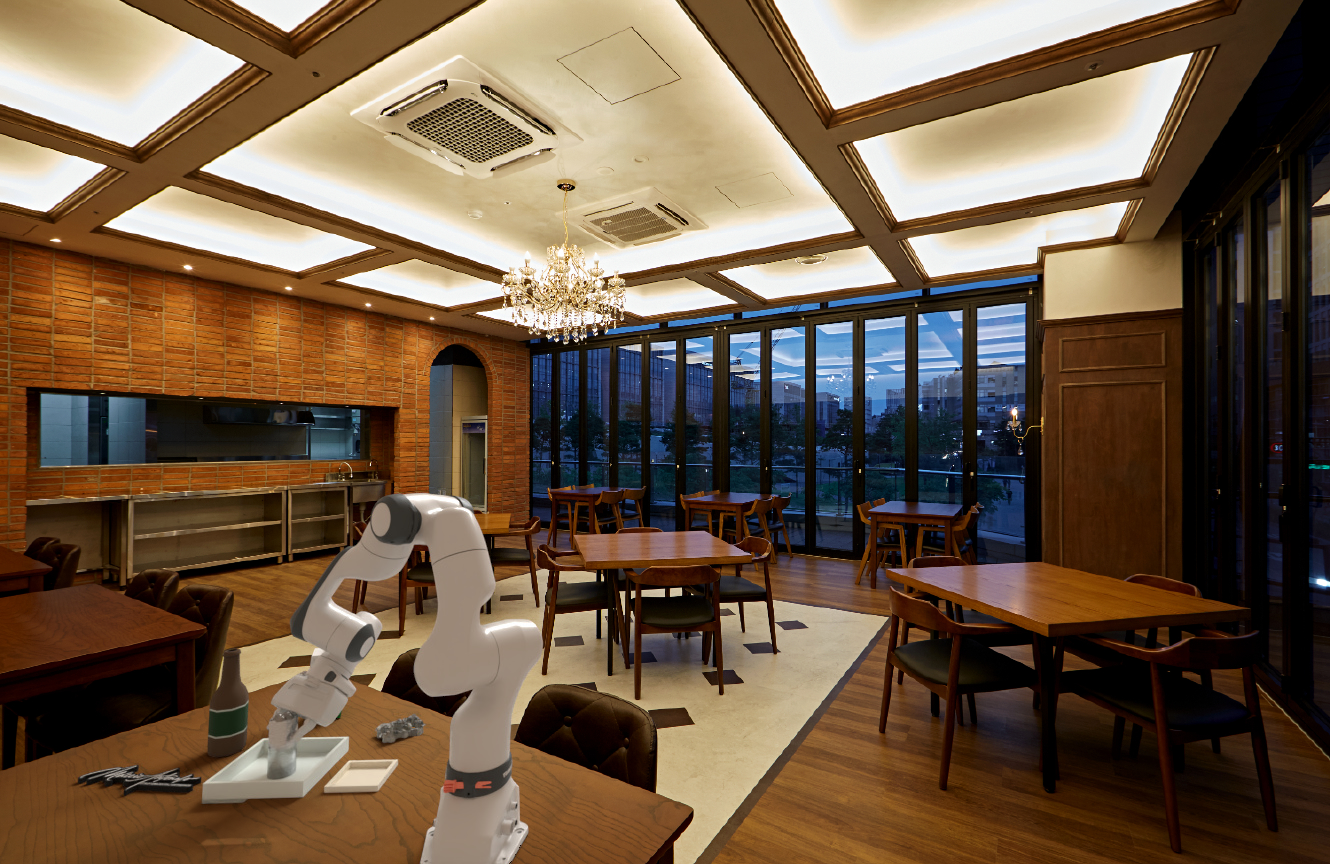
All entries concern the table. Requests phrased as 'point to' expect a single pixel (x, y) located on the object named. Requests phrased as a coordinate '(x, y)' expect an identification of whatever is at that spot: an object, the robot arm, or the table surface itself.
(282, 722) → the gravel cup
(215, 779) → the bin
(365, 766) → the tray
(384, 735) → the egg carton
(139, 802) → the table surface
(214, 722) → the beer bottle
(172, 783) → the nameplate
